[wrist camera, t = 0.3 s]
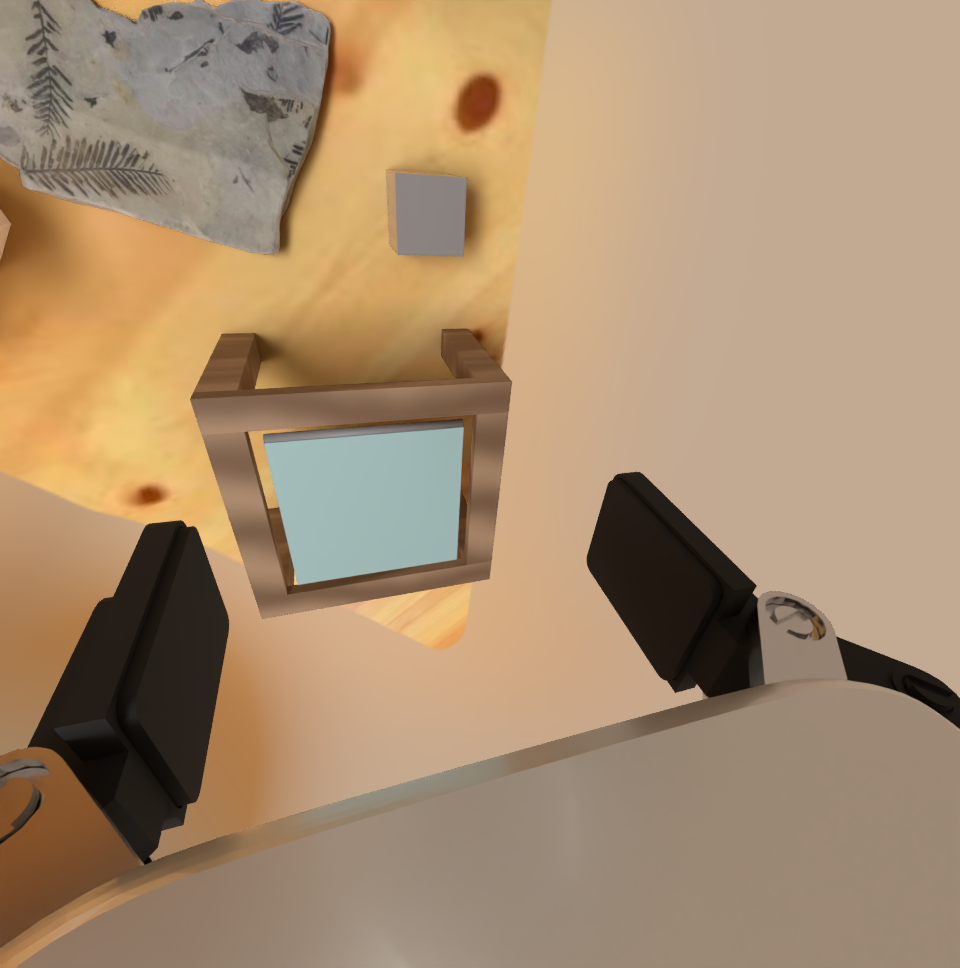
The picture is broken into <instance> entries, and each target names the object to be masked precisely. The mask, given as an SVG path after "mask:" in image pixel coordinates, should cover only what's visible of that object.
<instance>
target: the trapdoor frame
mask: <svg viewBox="0 0 960 968" xmlns="http://www.w3.org/2000/svg"><path fill="white" fill-rule="evenodd" d="M441 356H442V358H443V359H444V361H445V363H446V364H447V366H448V367H449V369H450V371H451V372H452V374H453V376H454V377H455V379H444V380H425V381H405V382H386V383H367V384H347V385H328V386H308V387H289V388H269V389H255V385H256V381H257V377H258V373H259V369H260V365H261V360H260V355H259V351H258V346H257V341H256V337H255V333H250V334H222V335H221V337H220V339H219V341H218V343H217V345H216V347H215V349H214V351H213V353H212V355H211V357H210V359H209V361H208V363H207V365H206V368H205V370H204V372H203V374H202V376H201V378H200V380H199V382H198V384H197V386H196V388H195V390H194V392H193V394H192V396H191V398H190V400H191V403H192V406H193V410H194V413H195V416H196V419H197V422H198V425H199V428H200V431H201V434H202V437H203V440H204V443H205V446H206V449H207V452H208V455H209V458H210V461H211V464H212V468H213V471H214V474H215V477H216V480H217V483H218V486H219V489H220V492H221V495H222V498H223V501H224V504H225V507H226V510H227V513H228V516H229V519H230V522H231V526H232V529H233V532H234V535H235V538H236V541H237V544H238V547H239V550H240V553H241V556H242V559H243V562H244V565H245V568H246V571H247V574H248V577H249V580H250V584H251V587H252V589H253V593H254V596H255V599H256V602H257V605H258V608H259V611H260V614H261V617H262V619H265V618H270V617H276V616H282V615H288V614H293V613H299V612H304V611H310V610H316V609H321V608H327V607H333V606H339V605H344V604H350V603H356V602H362V601H367V600H373V599H379V598H384V597H390V596H396V595H401V594H407V593H413V592H418V591H424V590H430V589H435V588H441V587H447V586H452V585H458V584H464V583H470V582H475V581H481V580H486V579H489V577H490V569H491V560H492V551H493V542H494V534H495V525H496V516H497V508H498V499H499V490H500V481H501V472H502V463H503V455H504V446H505V438H506V429H507V419H508V411H509V403H510V394H511V385H512V381H511V380H510V379H509V377H508V376H507V375H506V374H505V373H504V372H503V370H502V369H501V368H500V367H499V366H498V364H497V363H496V362H495V361H494V360H493V358H492V357H491V356H490V355H489V354H488V353H487V351H486V350H485V349H484V348H483V347H482V345H481V344H480V343H479V342H478V341H477V339H476V338H475V337H474V336H473V335H472V333H471V332H470V331H469V330H468V329H442V342H441ZM465 415H473V425H472V441H471V456H470V472H469V487H468V502H467V503H466V501H465V498H464V496H463V494H462V491H461V489H460V508H459V527H458V546H457V559H456V560H450V561H444V562H438V563H432V564H425V565H419V566H413V567H407V568H400V569H394V570H388V571H382V572H375V573H369V574H363V575H357V576H351V577H344V578H338V579H332V580H326V581H319V582H313V583H307V584H301V585H294V567H293V562H292V558H291V554H290V550H289V546H288V542H287V537H286V533H285V529H284V525H283V521H282V517H281V512H280V508H275V509H268V507H267V503H266V500H265V496H264V492H263V488H262V484H261V480H260V476H259V473H258V469H257V465H256V461H255V457H254V453H253V449H252V446H251V442H250V438H249V434H248V431H262V430H275V429H289V428H302V427H316V426H329V425H343V424H357V423H370V422H384V421H397V420H411V419H424V418H438V417H451V416H465Z"/></svg>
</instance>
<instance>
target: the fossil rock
mask: <svg viewBox="0 0 960 968" xmlns="http://www.w3.org/2000/svg"><path fill="white" fill-rule="evenodd" d="M330 36H331V26H330V22H329V20H328V19H327V18H326V17H325V16H324V15H323V14H322V13H319V12H317V11H314V10H311V9H308V8H307V7H306V6H305V5H303V4H301V3H298V2H296V1H290V2H263V1H260V0H233V1H230V2H227V3H224V4H221V5H219V6H217V7H213V6H211V5H209V4H207V3H205V2H204V1H202V0H195V1H194V2H192V3H175V2H172V3H167V4H161V5H154V6H152V7H150V8H147V9H144V10H142V12H141V14H140V16H139V18H138V20H137V22H135V21H132V20H130V19H127V18H126V17H124V16H122V15H120V14H117V13H114V12H111V11H109V10H106V9H104V8H101V7H99V6H97V5H96V4H95V3H94V2H93V1H92V0H0V157H1V158H2V159H3V160H4V161H6V162H7V163H9V164H11V165H12V166H14V167H16V168H17V169H18V170H19V173H20V178H21V181H22V184H23V186H24V187H25V188H27V189H29V190H32V191H37V192H41V193H44V194H48V195H51V196H54V197H57V198H60V199H63V200H66V201H70V202H74V203H79V204H84V205H89V206H93V207H97V208H102V209H106V210H110V211H114V212H118V213H121V214H124V215H127V216H130V217H134V218H137V219H140V220H143V221H147V222H150V223H153V224H156V225H159V226H163V227H166V228H170V229H174V230H177V231H180V232H182V233H185V234H187V235H191V236H194V237H198V238H200V239H203V240H207V241H210V242H213V243H218V244H223V245H226V246H229V247H232V248H236V249H240V250H243V251H247V252H250V253H259V254H266V255H267V254H277V253H278V251H279V249H280V229H279V226H280V220H281V217H282V216H283V214H284V212H285V211H286V209H287V208H288V205H289V200H290V197H291V194H292V191H293V187H294V184H295V181H296V179H297V176H298V174H299V171H300V168H301V167H302V165H303V163H304V160H305V158H306V155H307V153H308V152H309V149H310V146H311V144H312V141H313V138H314V134H315V130H316V124H317V119H318V115H319V110H320V104H321V99H322V92H323V87H324V82H325V77H326V72H327V67H328V47H329V44H330Z"/></svg>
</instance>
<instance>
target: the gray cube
mask: <svg viewBox="0 0 960 968" xmlns="http://www.w3.org/2000/svg"><path fill="white" fill-rule="evenodd" d="M386 180H387V203H388V227H389V244H390V246H391V247H392V248H393V250H394V251H395V252H396V253H397V255H421V256H463V257H464V234H465V210H466V186H467V178H465V177H460V176H455V175H450V174H436V173H422V172H409V171H395V170H386Z"/></svg>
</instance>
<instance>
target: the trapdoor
mask: <svg viewBox="0 0 960 968" xmlns="http://www.w3.org/2000/svg"><path fill="white" fill-rule="evenodd" d="M463 431H464V427H463V420H462V419H455V420H442V421H429V422H416V423H403V424H390V425H376V426H363V427H350V428H337V429H324V430H311V431H297V432H284V433H271V434H263V440H264V446H265V450H266V454H267V458H268V463H269V467H270V471H271V475H272V479H273V483H274V488H275V492H276V496H277V500H278V504H279V508H280V512H281V517H282V521H283V525H284V529H285V533H286V537H287V542H288V546H289V550H290V554H291V558H292V562H293V567H294V571H295V575H296V579H297V583H298V585H301V584H307V583H313V582H319V581H326V580H332V579H338V578H344V577H351V576H357V575H363V574H369V573H375V572H382V571H388V570H394V569H400V568H407V567H413V566H419V565H425V564H432V563H438V562H444V561H450V560H456V559H457V546H458V527H459V508H460V489H461V470H462V451H463Z"/></svg>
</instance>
